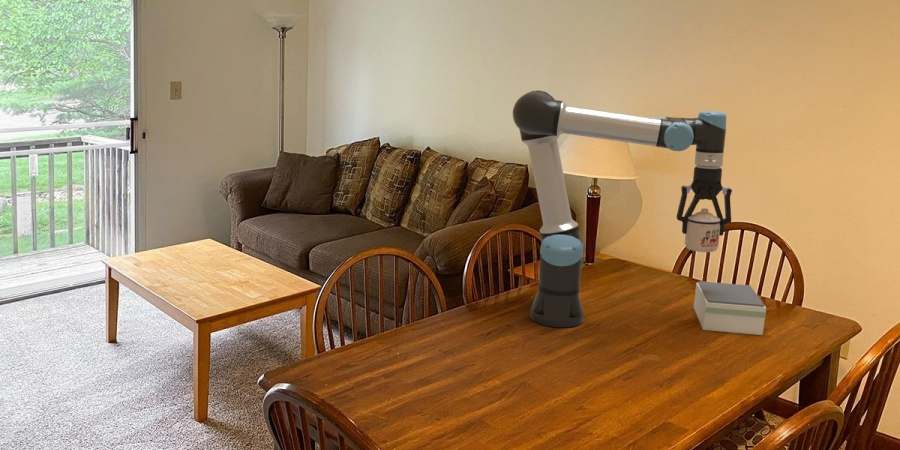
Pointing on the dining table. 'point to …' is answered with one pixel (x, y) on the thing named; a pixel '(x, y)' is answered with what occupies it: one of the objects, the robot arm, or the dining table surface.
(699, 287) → the stand
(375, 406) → the dining table surface
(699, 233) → the teacup with lid
